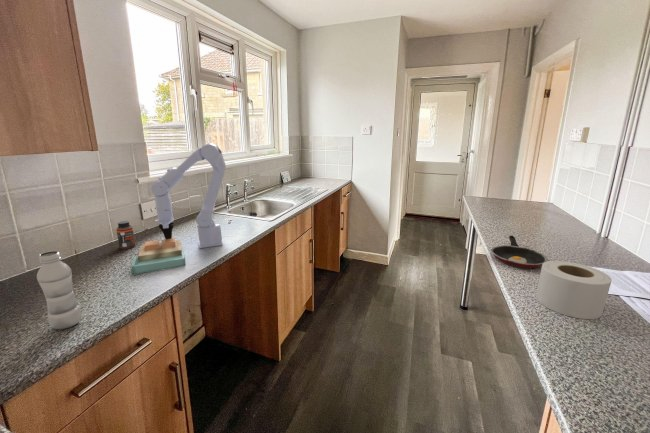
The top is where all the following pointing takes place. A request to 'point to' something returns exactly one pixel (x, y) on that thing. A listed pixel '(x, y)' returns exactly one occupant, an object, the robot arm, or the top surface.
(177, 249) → the board
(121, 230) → the supplement bottle
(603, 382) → the top surface
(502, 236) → the top surface
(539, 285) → the roll of tape
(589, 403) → the top surface
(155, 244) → the tile
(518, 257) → the frying pan
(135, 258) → the tray
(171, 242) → the tile
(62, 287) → the plastic bottle
